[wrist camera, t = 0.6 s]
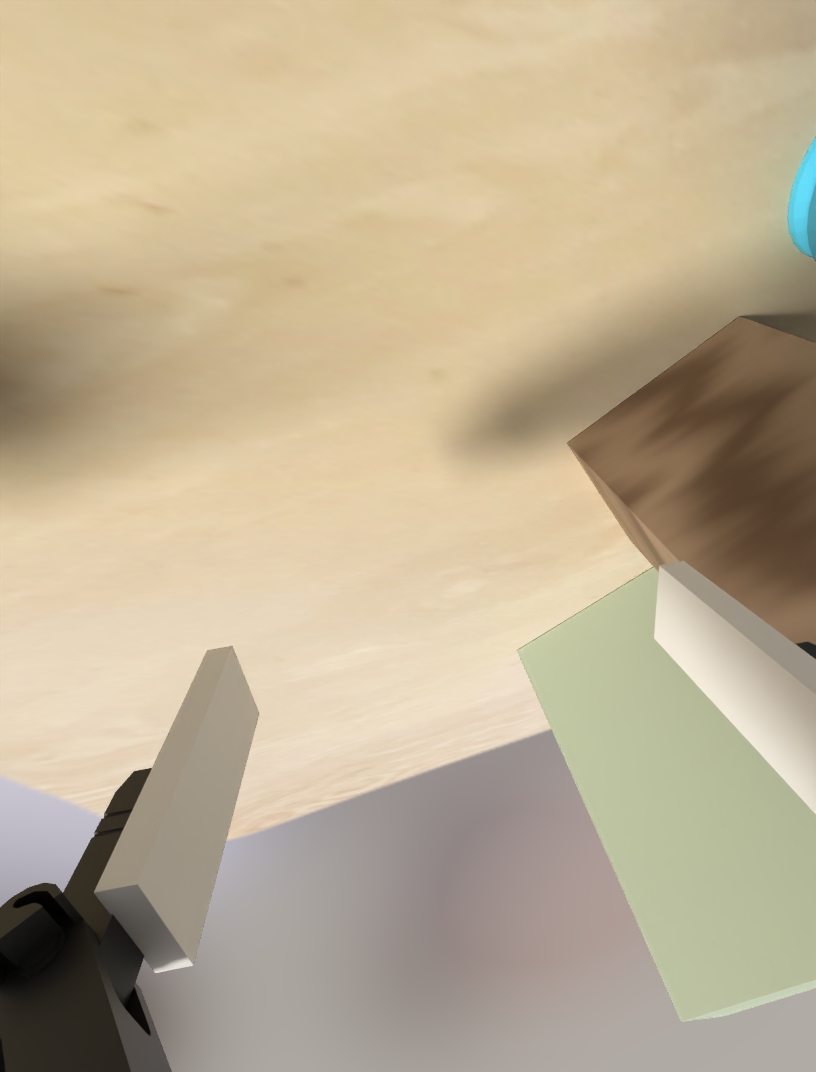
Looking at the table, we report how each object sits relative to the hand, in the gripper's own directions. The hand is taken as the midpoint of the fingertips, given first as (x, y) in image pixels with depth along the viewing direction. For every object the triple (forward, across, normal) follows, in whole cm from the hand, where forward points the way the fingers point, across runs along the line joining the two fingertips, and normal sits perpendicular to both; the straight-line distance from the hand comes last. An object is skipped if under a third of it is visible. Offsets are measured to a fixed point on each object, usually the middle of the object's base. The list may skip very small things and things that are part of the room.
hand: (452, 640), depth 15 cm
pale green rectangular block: (+18, +14, -16) cm, 28 cm away
